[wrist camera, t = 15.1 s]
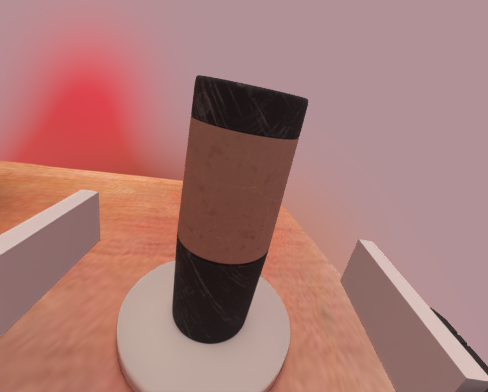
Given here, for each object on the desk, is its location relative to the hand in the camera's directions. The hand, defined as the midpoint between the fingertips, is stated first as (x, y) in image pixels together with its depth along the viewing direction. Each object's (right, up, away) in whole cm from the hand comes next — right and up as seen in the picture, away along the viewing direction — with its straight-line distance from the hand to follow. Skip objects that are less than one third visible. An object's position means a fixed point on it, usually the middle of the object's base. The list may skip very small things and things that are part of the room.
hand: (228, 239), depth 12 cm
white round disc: (-3, -11, +12) cm, 16 cm away
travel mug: (-3, -9, +11) cm, 15 cm away
